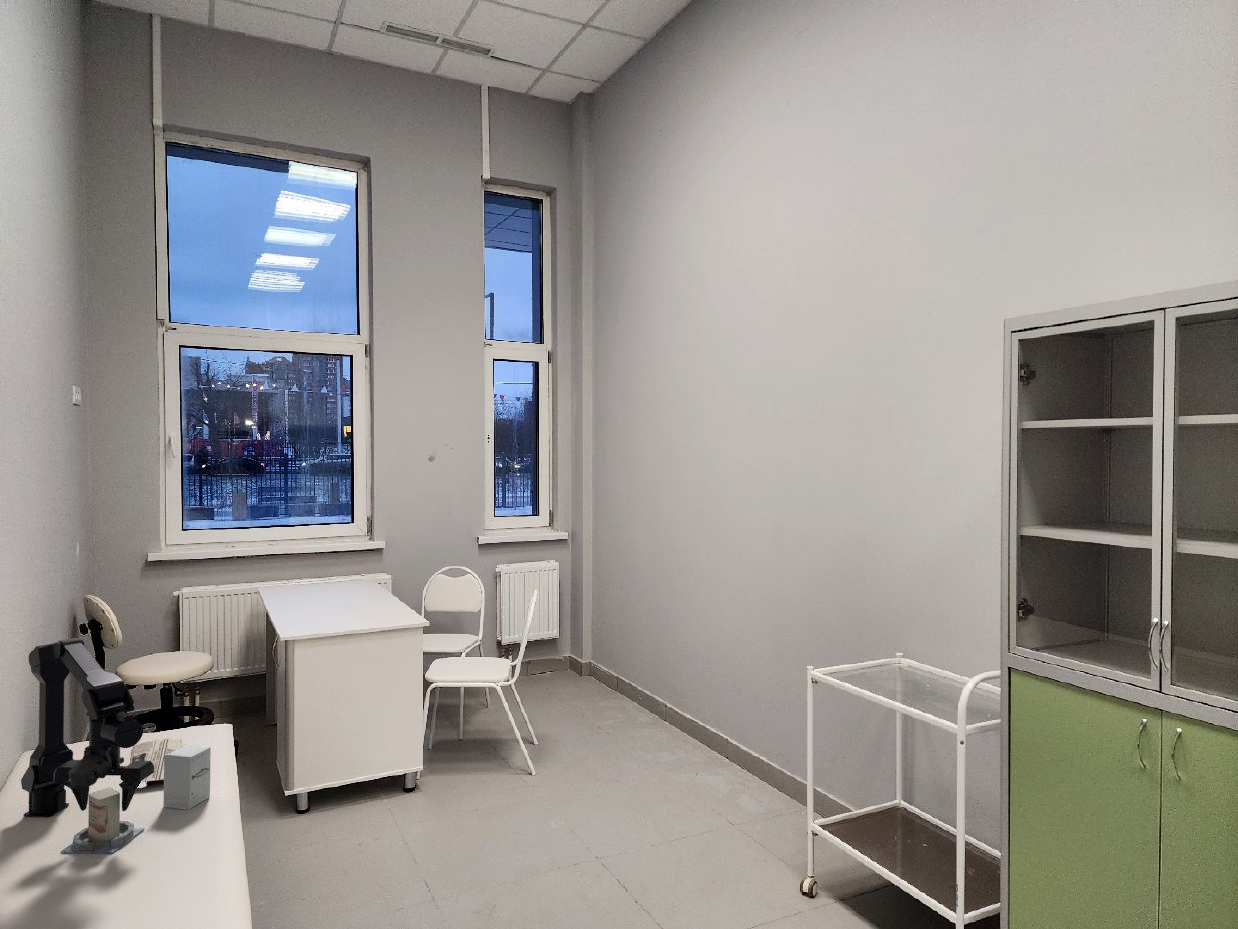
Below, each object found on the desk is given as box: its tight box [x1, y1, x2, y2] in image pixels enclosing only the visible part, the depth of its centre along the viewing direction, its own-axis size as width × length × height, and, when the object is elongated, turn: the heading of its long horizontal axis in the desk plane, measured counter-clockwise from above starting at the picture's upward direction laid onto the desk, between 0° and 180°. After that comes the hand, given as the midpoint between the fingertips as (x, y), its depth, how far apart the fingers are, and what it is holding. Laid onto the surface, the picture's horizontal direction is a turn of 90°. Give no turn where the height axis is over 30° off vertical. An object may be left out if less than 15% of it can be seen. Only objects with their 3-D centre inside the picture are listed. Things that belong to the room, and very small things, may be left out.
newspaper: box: [129, 737, 183, 790], centre depth 215 cm, size 35×12×4 cm, turn 29°
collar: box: [60, 820, 146, 855], centre depth 172 cm, size 11×11×2 cm
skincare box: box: [87, 787, 121, 842], centre depth 173 cm, size 5×4×10 cm
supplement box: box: [162, 744, 212, 810], centre depth 192 cm, size 7×7×13 cm
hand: (104, 810), depth 173 cm, fingers open, 9 cm apart
